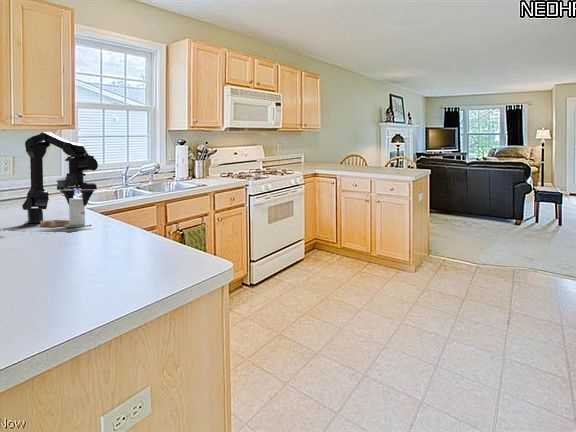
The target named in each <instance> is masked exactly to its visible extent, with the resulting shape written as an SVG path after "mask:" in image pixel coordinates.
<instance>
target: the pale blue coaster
mask: <svg viewBox="0 0 576 432" xmlns="http://www.w3.org/2000/svg"><path fill="white" fill-rule="evenodd" d="M63 227H64V228H66V227H67V228H83V227H92V224H86V223H85V225H64V226H63Z"/></svg>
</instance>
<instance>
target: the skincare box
mask: <svg viewBox="0 0 576 432" xmlns="http://www.w3.org/2000/svg"><path fill="white" fill-rule="evenodd" d="M68 207H69V209H68V210H69V212H68V213H69V214H68V216H69V220H70V225H85V224H86V216H85V215H86V212H85V210H86V206H84V205H83V198H79V197H78V198H77V197H76V198H74V197H73V198H71V199H69V205H68Z"/></svg>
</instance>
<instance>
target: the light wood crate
mask: <svg viewBox="0 0 576 432" xmlns="http://www.w3.org/2000/svg"><path fill="white" fill-rule="evenodd" d="M39 224H40V225H39V227H41V228H43V227H44V228H61V227H64V225H70V219H53V220H43V221H40V222H39Z"/></svg>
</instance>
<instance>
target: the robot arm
mask: <svg viewBox="0 0 576 432" xmlns="http://www.w3.org/2000/svg"><path fill="white" fill-rule="evenodd" d="M51 145H53V146H55V147H57V148H60V149H61V150H62V152H63V153H64V154H66V155H67V157H66V158H65V160H64V161H65V162H68V173H66V175H65V177H61V178H59V179H56V183H57V185H56V190H57V191H59V192H60V193H62V194H63V196H64V198H65V200H66V202H67V204H68V206H69V199H71V198H74V195H75V190H76V189H80V190H79V192H80V193H81V196H82V199H83V205H84V206H85V207H86V206H87V205H88V202H89V201H90V199H91V196H92V194H93V193H94V192H95V191H96V190H98V187H97V186H98V185H97V184H96V183H94V182H84V177H86V175H87V174H86V173H84V172H90V171H91V172H92V171H96V170H97V169H98V167H99V163H98V161H97V159H96V158H95V157H94V156H95V155H91V154H89V153H88V151H87V150H86V147H85V145H84V144H81V143H77V142H72V141H68V140H66V139H64V138H61V137H59V136H57V135H55V134H53V133H52V132H47V131H43V132H40V133H39V134H36V135H34V136H31V137H28V138H27V139H26V140H25V143H24V147H25V152H26V153H27V155H28V156H29V159H30V160H29V161H30V162H29V163H30V167H29V169H30V188H29V190H28V192H27V194H26V199H25V200H24V203H23V204H22V205H21V207H22V209H23V211H27V221H26V220H25V221H24V223H28V224H29V223H31V224H32V223H33V224H35V223H36V224H37V223H40V221H44V212H43V210H47V209H48V203H49V192H48V191H46V190H45V188H44V170H43V169H44V168H43V167H44V164H43V163H44V162H43V159H44V156H45V155H46V153H47V149H48V148H49V147H51ZM74 189H75V190H74Z"/></svg>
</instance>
